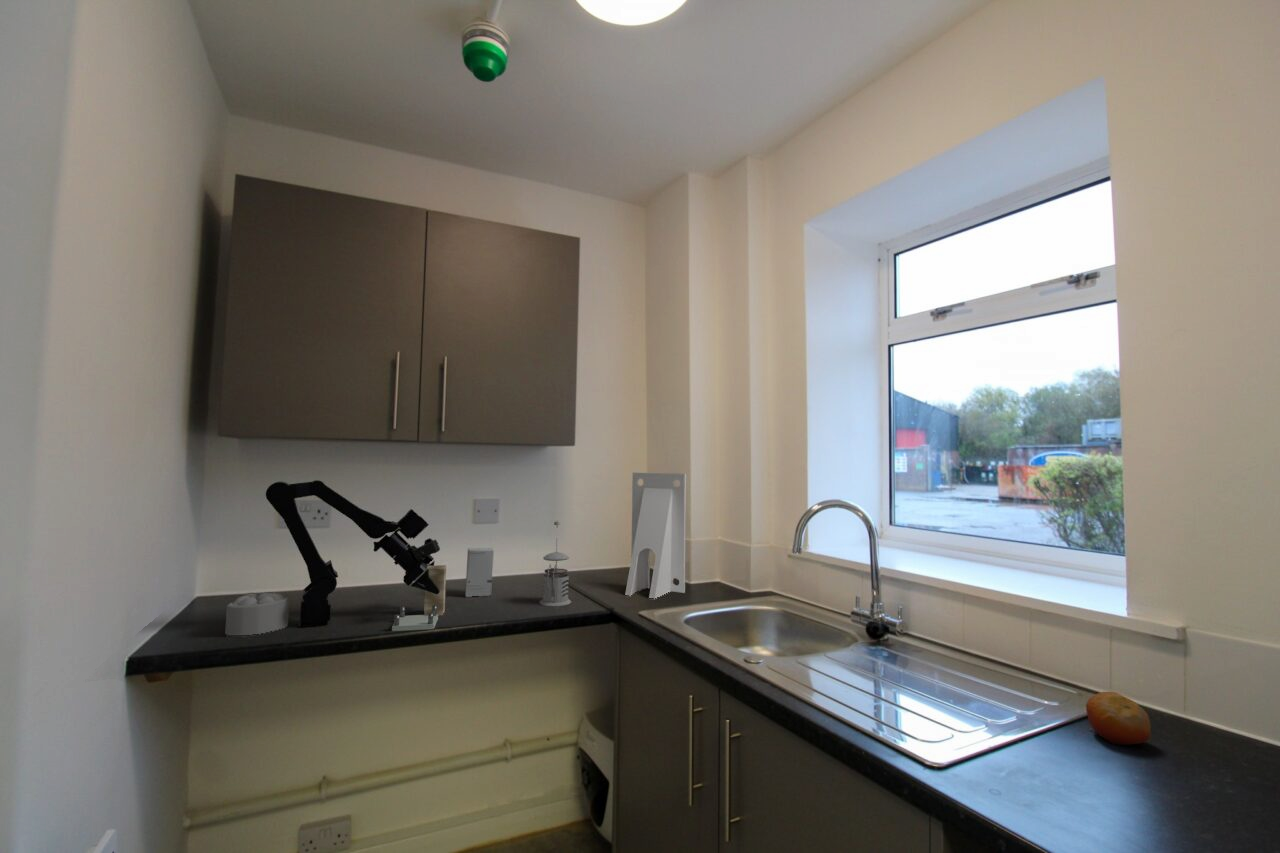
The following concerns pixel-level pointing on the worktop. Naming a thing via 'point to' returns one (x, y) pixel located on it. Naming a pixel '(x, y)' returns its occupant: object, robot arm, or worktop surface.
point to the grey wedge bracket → (658, 533)
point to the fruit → (1118, 719)
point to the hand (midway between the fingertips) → (440, 589)
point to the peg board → (415, 621)
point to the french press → (555, 581)
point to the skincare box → (479, 572)
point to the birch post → (439, 580)
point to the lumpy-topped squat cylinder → (257, 614)
